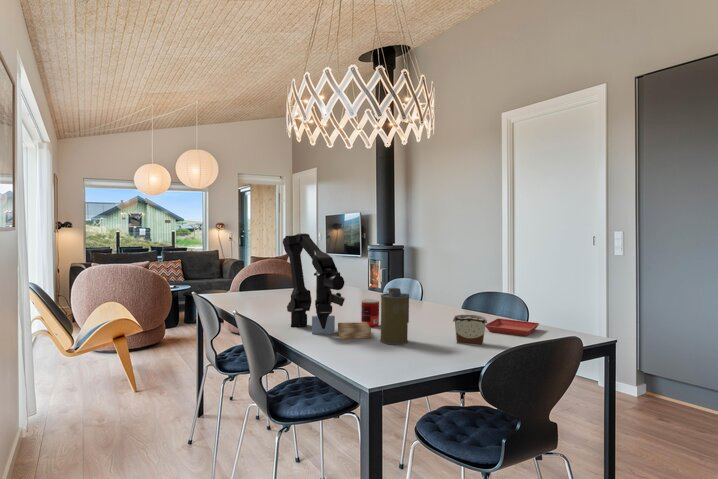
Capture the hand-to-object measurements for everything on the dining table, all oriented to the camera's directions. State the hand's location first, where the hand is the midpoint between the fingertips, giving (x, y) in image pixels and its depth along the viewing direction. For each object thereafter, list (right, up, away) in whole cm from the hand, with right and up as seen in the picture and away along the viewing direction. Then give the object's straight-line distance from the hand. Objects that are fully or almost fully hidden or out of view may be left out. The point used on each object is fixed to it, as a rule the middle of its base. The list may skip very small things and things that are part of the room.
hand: (323, 326), depth 190 cm
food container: (+56, -4, -14) cm, 58 cm away
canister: (+28, -4, -13) cm, 31 cm away
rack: (+12, -3, -3) cm, 13 cm away
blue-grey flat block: (0, -3, 0) cm, 3 cm away
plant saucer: (+79, -4, +8) cm, 79 cm away
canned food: (+19, -3, +16) cm, 25 cm away
